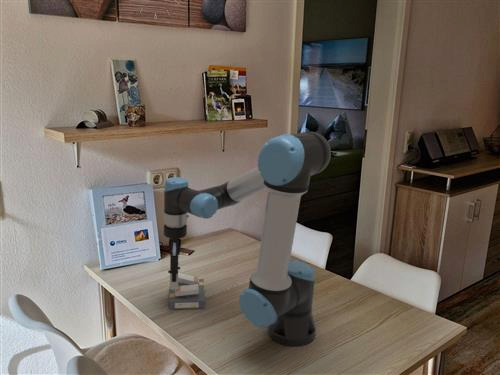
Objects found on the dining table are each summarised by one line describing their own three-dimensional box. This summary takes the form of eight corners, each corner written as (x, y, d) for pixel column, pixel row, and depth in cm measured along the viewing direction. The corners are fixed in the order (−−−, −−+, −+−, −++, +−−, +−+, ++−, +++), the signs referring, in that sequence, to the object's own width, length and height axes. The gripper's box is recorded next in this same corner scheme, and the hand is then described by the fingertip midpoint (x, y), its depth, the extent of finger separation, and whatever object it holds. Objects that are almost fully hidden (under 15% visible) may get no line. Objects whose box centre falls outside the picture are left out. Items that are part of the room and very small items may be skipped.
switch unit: (204, 308, 151) (204, 298, 150) (168, 310, 149) (168, 299, 148) (203, 286, 166) (203, 276, 165) (171, 287, 165) (171, 277, 164)
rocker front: (198, 293, 152) (198, 289, 151) (175, 296, 151) (174, 291, 150) (198, 288, 155) (198, 283, 155) (175, 290, 155) (175, 286, 154)
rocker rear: (197, 286, 160) (198, 282, 159) (175, 281, 158) (177, 277, 158) (197, 281, 163) (198, 277, 163) (176, 276, 162) (177, 272, 162)
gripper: (186, 231, 140) (184, 298, 146) (187, 217, 153) (185, 279, 159) (162, 231, 139) (161, 298, 145) (165, 217, 152) (163, 279, 158)
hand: (173, 288), depth 152 cm, fingers closed
